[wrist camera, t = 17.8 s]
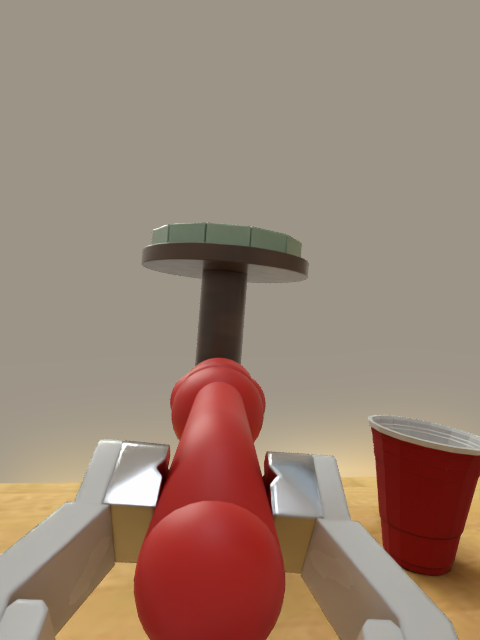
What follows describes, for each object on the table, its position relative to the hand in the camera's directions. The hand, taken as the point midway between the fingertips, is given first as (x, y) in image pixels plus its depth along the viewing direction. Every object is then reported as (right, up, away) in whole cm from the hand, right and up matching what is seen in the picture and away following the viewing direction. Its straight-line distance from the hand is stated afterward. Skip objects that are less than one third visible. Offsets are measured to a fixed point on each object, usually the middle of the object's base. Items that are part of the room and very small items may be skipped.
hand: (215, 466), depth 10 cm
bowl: (-1, +9, +32) cm, 34 cm away
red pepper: (-1, -3, +7) cm, 8 cm away
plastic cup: (+17, -19, +29) cm, 39 cm away
